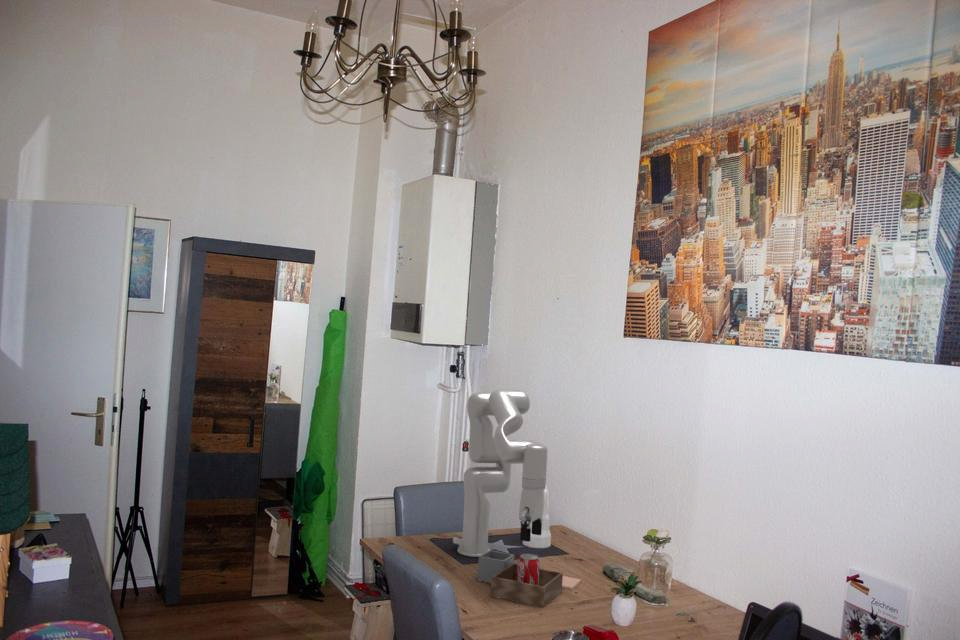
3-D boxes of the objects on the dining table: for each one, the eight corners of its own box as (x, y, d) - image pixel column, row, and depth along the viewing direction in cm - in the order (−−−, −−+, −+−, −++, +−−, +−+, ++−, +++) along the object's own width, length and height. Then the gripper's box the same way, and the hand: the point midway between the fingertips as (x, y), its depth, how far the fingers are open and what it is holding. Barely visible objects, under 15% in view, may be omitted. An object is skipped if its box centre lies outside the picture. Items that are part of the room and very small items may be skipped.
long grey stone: (645, 609, 251) (673, 609, 255) (648, 593, 251) (675, 593, 255) (594, 569, 284) (618, 569, 288) (596, 554, 284) (620, 554, 288)
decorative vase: (532, 539, 320) (536, 476, 321) (555, 544, 314) (559, 480, 314) (517, 544, 312) (521, 479, 312) (540, 550, 305) (544, 484, 305)
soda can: (536, 599, 250) (538, 560, 250) (514, 596, 252) (516, 557, 252) (539, 591, 257) (541, 554, 257) (517, 589, 259) (519, 551, 259)
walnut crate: (490, 596, 250) (491, 576, 250) (511, 581, 266) (513, 563, 266) (543, 607, 243) (544, 587, 243) (561, 591, 259) (562, 573, 259)
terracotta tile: (542, 584, 265) (543, 581, 265) (553, 576, 274) (553, 573, 274) (571, 590, 261) (572, 587, 261) (581, 581, 270) (581, 579, 270)
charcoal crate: (477, 580, 264) (478, 556, 265) (488, 573, 273) (489, 550, 273) (502, 585, 261) (503, 561, 261) (512, 578, 269) (514, 554, 269)
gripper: (532, 478, 264) (529, 530, 264) (512, 485, 248) (509, 541, 248) (554, 481, 261) (551, 534, 260) (535, 489, 245) (532, 545, 245)
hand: (530, 537), depth 254 cm, fingers open, 9 cm apart
